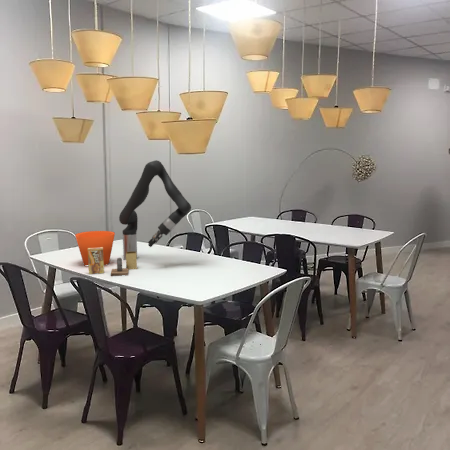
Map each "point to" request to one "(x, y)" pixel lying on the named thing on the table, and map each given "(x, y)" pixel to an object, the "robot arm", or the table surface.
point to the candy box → (95, 260)
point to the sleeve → (131, 260)
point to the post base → (115, 273)
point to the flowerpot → (95, 243)
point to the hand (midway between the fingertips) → (149, 244)
